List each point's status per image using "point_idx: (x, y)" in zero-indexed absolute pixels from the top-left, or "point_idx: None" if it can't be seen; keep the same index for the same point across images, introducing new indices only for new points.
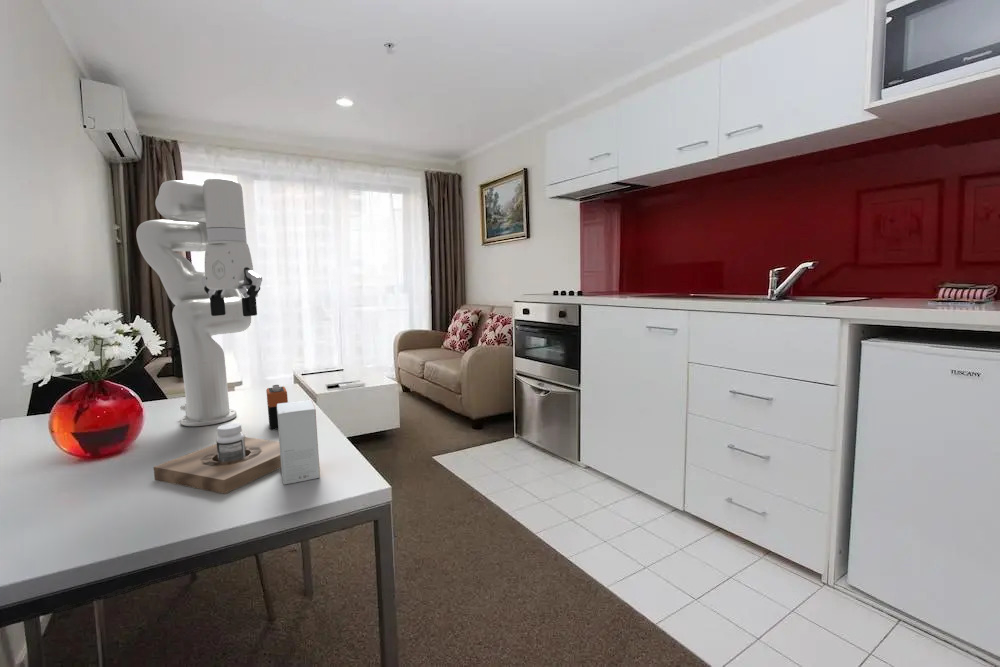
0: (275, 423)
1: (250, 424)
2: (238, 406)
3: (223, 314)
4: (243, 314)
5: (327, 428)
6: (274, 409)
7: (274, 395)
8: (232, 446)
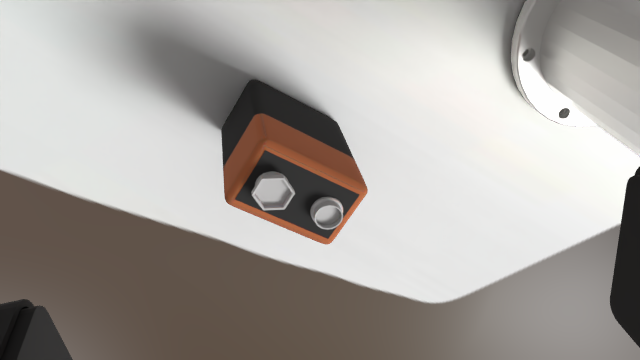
0: (242, 100)
1: (393, 79)
2: None
3: (613, 288)
4: (7, 310)
5: (84, 190)
6: (245, 123)
7: (246, 155)
8: None
